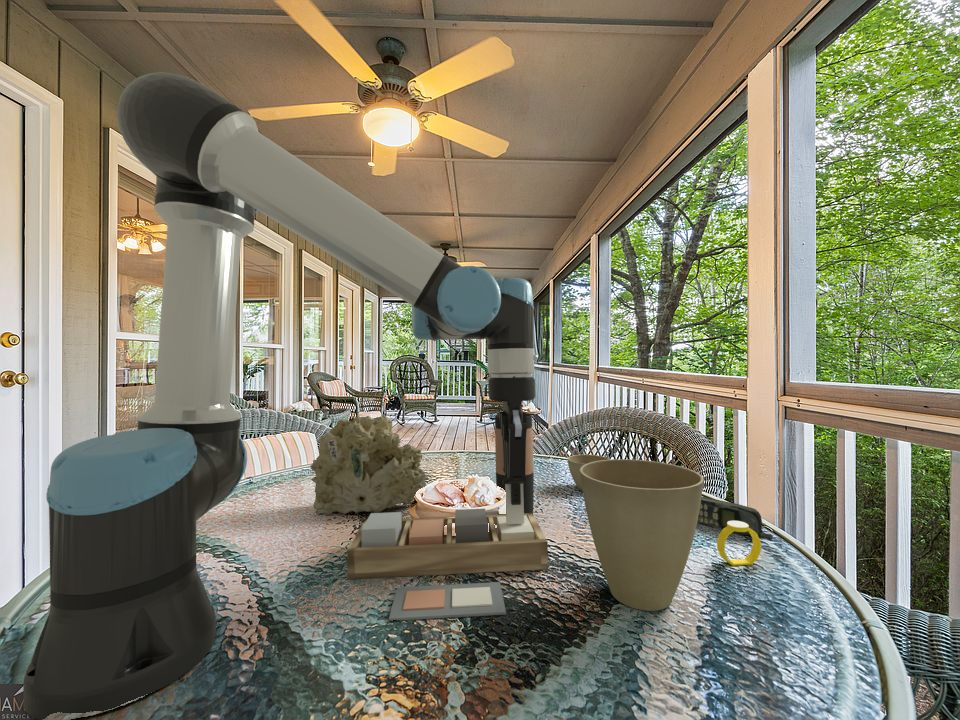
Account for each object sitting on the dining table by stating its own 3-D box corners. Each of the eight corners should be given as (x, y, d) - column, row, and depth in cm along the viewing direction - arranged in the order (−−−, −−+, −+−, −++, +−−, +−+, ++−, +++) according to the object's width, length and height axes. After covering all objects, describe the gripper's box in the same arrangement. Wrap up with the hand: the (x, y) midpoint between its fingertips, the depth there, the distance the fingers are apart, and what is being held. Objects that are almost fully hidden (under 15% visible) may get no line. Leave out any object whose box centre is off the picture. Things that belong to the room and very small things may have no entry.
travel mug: (503, 523, 80) (501, 418, 80) (491, 510, 87) (489, 413, 87) (540, 518, 82) (538, 416, 82) (526, 506, 89) (524, 412, 89)
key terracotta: (442, 555, 63) (442, 535, 63) (409, 557, 63) (408, 537, 63) (443, 536, 70) (443, 518, 70) (413, 538, 70) (413, 520, 70)
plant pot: (628, 643, 45) (624, 494, 45) (562, 577, 59) (560, 464, 59) (737, 617, 49) (733, 480, 49) (651, 561, 63) (649, 455, 63)
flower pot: (566, 493, 97) (565, 462, 97) (569, 481, 107) (569, 453, 107) (611, 496, 94) (610, 464, 94) (610, 484, 104) (610, 455, 104)
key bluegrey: (395, 548, 63) (395, 528, 63) (361, 550, 62) (361, 529, 62) (401, 530, 70) (401, 512, 70) (371, 531, 69) (370, 513, 69)
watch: (727, 571, 60) (723, 530, 60) (715, 562, 63) (711, 522, 63) (766, 565, 61) (762, 524, 61) (753, 557, 64) (749, 518, 64)
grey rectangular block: (488, 544, 63) (488, 524, 63) (455, 545, 63) (455, 525, 63) (485, 526, 70) (485, 508, 70) (455, 527, 70) (455, 509, 70)
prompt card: (506, 614, 50) (505, 610, 50) (388, 621, 50) (388, 616, 50) (499, 584, 57) (499, 580, 57) (397, 589, 57) (397, 585, 57)
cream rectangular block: (534, 551, 64) (534, 531, 64) (502, 552, 64) (501, 533, 64) (526, 533, 71) (526, 515, 71) (497, 534, 70) (497, 516, 71)
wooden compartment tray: (548, 569, 61) (547, 541, 61) (347, 579, 60) (347, 551, 60) (533, 535, 73) (532, 513, 73) (365, 543, 72) (365, 520, 72)
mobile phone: (675, 494, 80) (767, 512, 69) (682, 491, 82) (772, 508, 71) (677, 521, 80) (768, 543, 69) (683, 517, 82) (774, 537, 71)
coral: (433, 502, 93) (431, 412, 93) (425, 519, 83) (423, 418, 83) (323, 502, 94) (321, 414, 94) (302, 518, 84) (300, 419, 85)
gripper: (542, 376, 61) (546, 537, 61) (527, 374, 74) (530, 507, 74) (491, 377, 61) (495, 540, 60) (485, 375, 74) (488, 509, 73)
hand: (515, 522), depth 67 cm, fingers closed
